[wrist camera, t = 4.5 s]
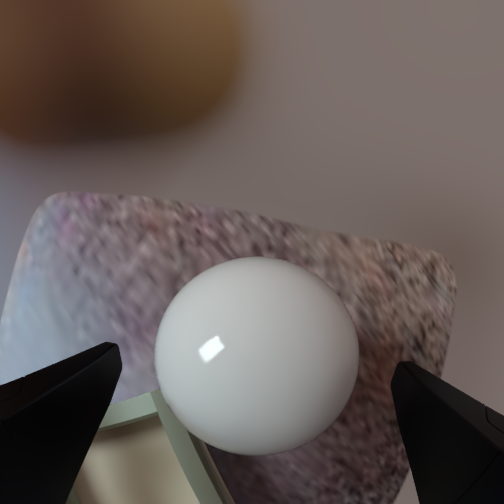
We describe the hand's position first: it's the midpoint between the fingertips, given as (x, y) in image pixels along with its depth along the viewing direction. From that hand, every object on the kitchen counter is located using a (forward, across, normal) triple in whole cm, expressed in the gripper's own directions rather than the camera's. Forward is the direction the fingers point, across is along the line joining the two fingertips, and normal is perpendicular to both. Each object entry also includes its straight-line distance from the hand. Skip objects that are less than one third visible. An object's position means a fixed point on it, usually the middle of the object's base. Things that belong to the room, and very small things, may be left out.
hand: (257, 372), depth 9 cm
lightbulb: (+6, 0, +6) cm, 8 cm away
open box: (0, +6, +11) cm, 13 cm away
